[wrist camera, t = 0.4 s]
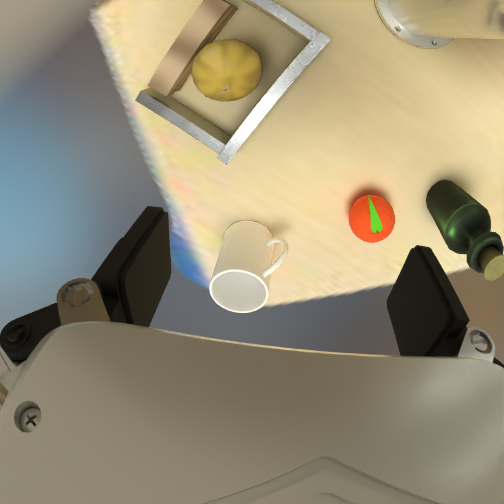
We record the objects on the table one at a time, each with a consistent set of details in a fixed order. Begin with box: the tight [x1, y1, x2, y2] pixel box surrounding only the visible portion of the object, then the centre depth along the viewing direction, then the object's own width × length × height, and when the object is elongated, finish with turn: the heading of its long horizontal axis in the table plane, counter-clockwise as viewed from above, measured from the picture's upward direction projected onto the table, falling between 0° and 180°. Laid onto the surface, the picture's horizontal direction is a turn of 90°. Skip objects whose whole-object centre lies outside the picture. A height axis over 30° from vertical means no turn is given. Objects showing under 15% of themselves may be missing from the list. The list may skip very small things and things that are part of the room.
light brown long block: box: [148, 0, 237, 96], centre depth 31 cm, size 14×3×5 cm, turn 145°
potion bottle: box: [426, 180, 504, 280], centre depth 35 cm, size 8×8×18 cm
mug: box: [210, 221, 288, 313], centre depth 46 cm, size 12×8×12 cm
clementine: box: [349, 195, 395, 243], centre depth 42 cm, size 8×7×7 cm
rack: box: [135, 0, 331, 165], centre depth 32 cm, size 20×15×6 cm
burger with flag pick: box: [192, 39, 262, 101], centre depth 30 cm, size 8×7×12 cm
